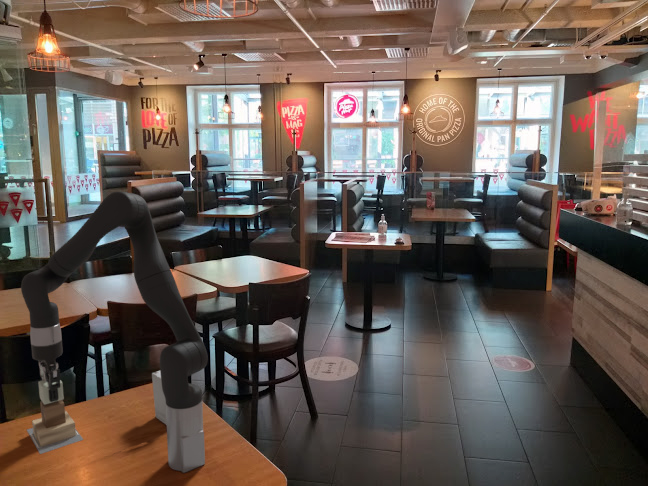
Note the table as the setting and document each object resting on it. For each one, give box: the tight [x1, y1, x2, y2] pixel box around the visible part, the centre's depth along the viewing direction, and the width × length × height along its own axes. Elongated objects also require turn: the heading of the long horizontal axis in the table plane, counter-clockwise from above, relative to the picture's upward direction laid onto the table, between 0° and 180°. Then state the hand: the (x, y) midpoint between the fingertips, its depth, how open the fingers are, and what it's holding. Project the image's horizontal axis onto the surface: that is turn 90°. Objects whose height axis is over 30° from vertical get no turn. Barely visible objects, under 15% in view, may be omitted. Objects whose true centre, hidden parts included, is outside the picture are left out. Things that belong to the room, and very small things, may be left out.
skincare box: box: [151, 370, 167, 426], centre depth 157 cm, size 8×6×15 cm
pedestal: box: [31, 410, 77, 447], centre depth 146 cm, size 9×9×4 cm
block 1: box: [38, 379, 65, 405], centre depth 145 cm, size 5×5×5 cm
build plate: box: [26, 427, 84, 455], centre depth 147 cm, size 16×11×1 cm
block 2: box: [39, 400, 66, 428], centre depth 146 cm, size 5×5×6 cm
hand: (51, 397), depth 145 cm, fingers closed on block 1, 4 cm apart
